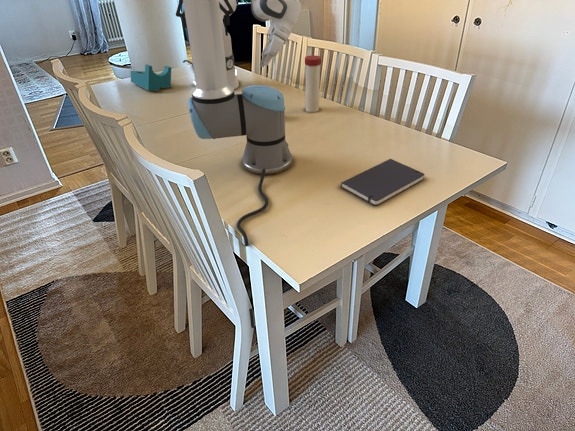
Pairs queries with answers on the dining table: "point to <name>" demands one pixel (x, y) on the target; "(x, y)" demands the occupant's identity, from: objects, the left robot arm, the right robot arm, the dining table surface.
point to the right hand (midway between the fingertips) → (208, 36)
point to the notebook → (382, 181)
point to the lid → (312, 60)
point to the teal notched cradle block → (152, 78)
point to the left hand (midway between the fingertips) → (263, 65)
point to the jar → (312, 88)
